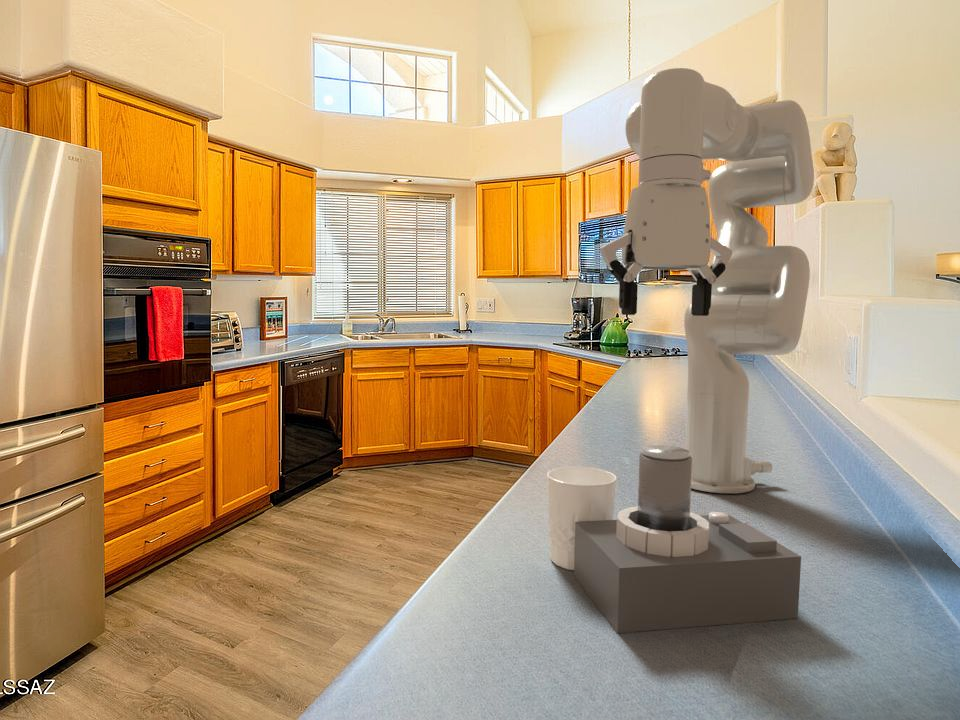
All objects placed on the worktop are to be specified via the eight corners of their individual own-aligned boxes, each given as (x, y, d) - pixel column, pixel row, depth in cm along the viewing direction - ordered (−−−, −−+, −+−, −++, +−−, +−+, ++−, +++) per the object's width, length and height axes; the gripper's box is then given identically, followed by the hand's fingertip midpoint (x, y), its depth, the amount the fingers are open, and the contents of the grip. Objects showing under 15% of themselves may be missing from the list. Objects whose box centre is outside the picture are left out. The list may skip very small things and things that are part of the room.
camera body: (725, 565, 69) (728, 496, 69) (797, 618, 57) (802, 535, 57) (573, 575, 66) (575, 503, 66) (617, 633, 54) (620, 546, 54)
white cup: (599, 580, 65) (601, 489, 64) (533, 564, 69) (535, 477, 68) (623, 556, 72) (626, 472, 71) (562, 542, 76) (564, 463, 75)
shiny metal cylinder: (639, 526, 64) (642, 442, 64) (689, 533, 63) (693, 447, 62) (633, 543, 60) (636, 453, 59) (687, 551, 58) (691, 458, 57)
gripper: (716, 186, 81) (711, 315, 82) (592, 180, 78) (589, 314, 79) (751, 174, 74) (744, 316, 75) (615, 167, 71) (611, 314, 72)
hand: (664, 315), depth 77 cm, fingers open, 9 cm apart
